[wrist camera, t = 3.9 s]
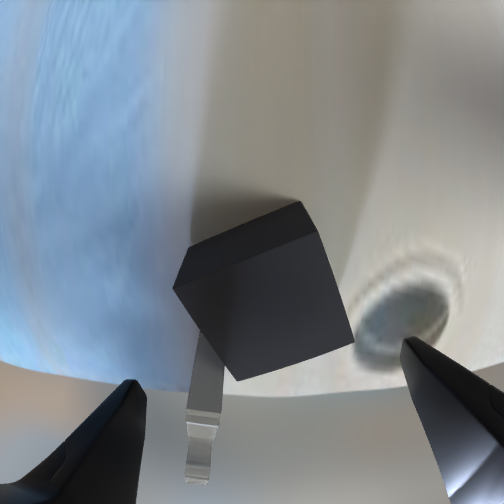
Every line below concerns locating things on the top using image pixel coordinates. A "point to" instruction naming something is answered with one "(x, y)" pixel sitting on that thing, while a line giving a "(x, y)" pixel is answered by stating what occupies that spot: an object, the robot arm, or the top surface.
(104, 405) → the robot arm
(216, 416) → the light grey notched plate
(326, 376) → the top surface
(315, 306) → the dark grey rectangular block
